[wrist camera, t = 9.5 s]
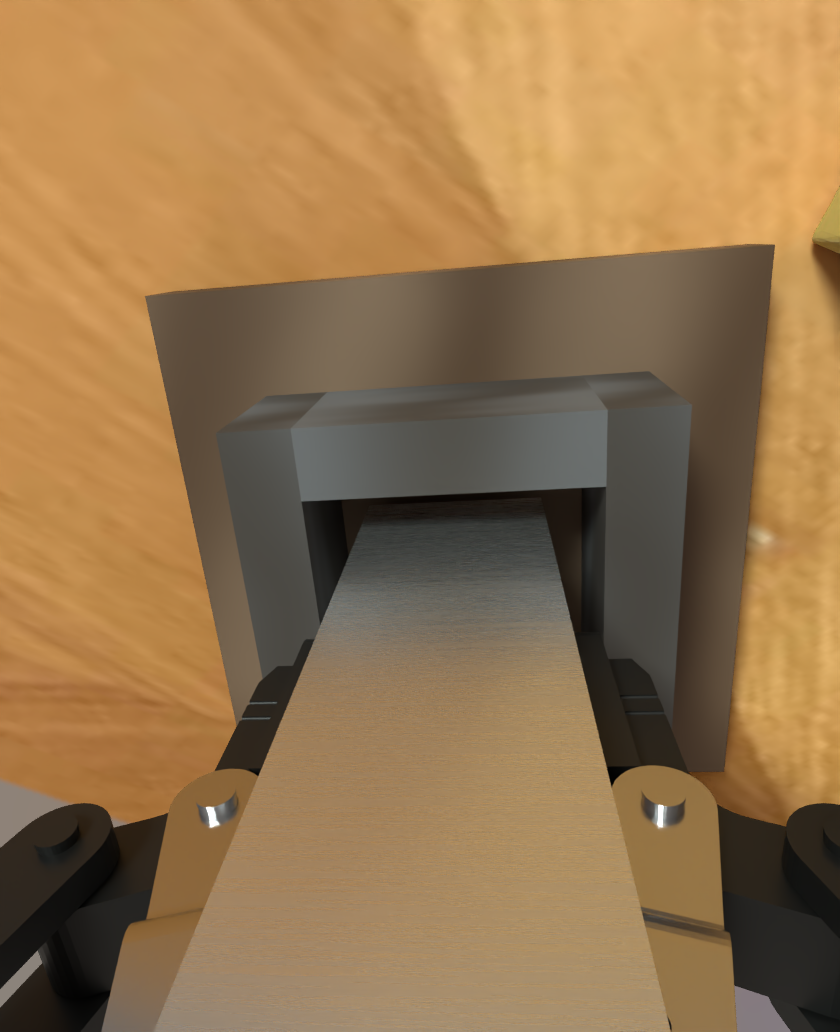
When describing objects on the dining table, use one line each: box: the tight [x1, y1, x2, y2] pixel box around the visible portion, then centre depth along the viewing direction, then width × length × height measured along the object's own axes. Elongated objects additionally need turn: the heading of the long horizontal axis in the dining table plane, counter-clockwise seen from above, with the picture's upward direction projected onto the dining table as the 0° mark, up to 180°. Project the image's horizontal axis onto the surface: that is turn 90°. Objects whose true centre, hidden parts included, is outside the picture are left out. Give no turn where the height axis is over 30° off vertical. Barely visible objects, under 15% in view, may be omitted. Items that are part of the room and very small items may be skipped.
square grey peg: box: [154, 498, 671, 1032], centre depth 11 cm, size 4×4×12 cm
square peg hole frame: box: [145, 244, 775, 772], centre depth 17 cm, size 14×14×5 cm
